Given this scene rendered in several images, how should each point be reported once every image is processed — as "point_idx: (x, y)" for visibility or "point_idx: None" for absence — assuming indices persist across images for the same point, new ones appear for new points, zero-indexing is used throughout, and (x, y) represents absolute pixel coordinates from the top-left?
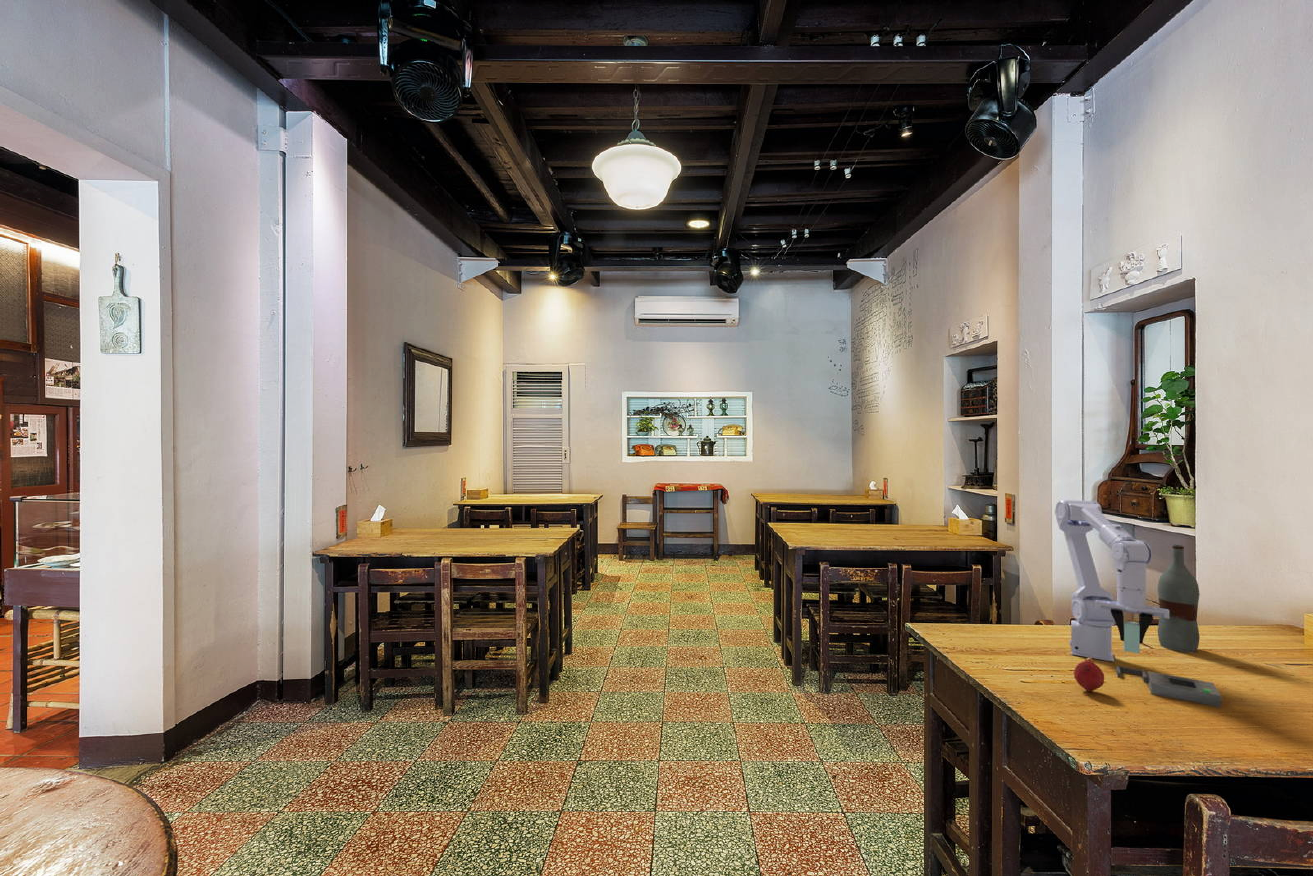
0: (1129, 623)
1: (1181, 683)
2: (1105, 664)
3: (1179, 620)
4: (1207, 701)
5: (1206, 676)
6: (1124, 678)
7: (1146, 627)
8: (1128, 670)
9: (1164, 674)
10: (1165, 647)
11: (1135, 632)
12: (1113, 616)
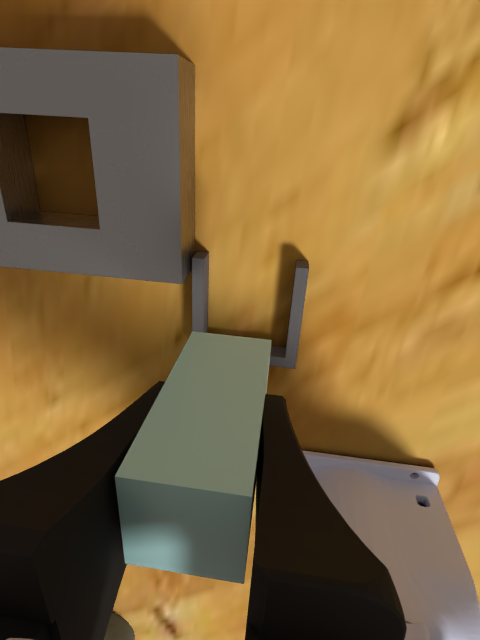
0: (201, 514)
1: (60, 220)
2: (323, 412)
3: None
4: None
5: (21, 436)
6: (281, 261)
7: (60, 461)
8: None
9: (115, 273)
10: (123, 621)
11: (174, 423)
12: (379, 569)
